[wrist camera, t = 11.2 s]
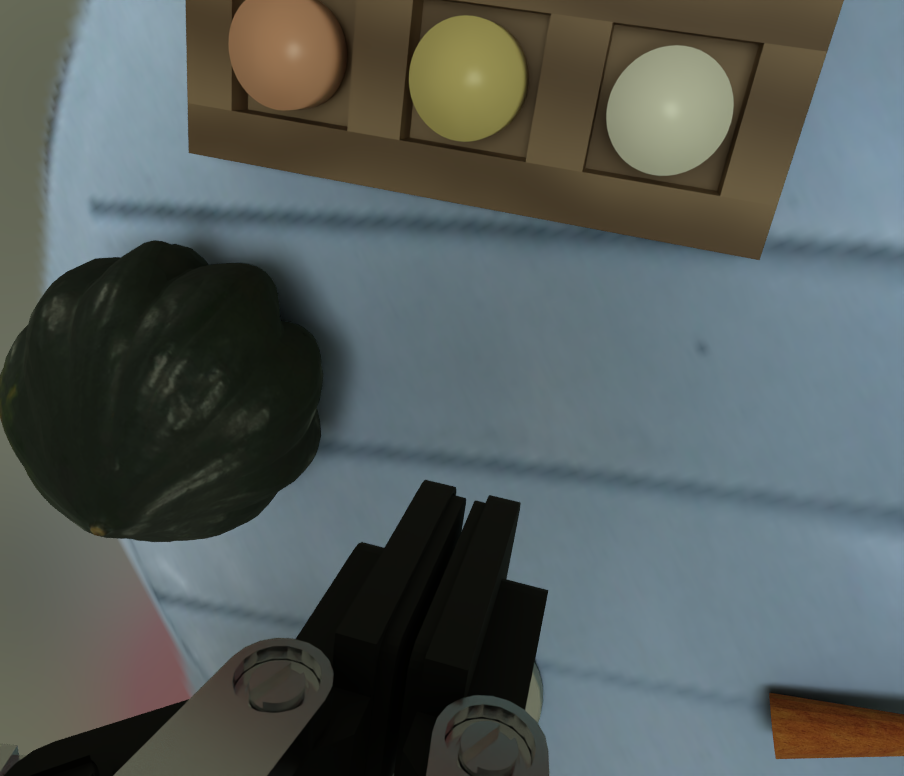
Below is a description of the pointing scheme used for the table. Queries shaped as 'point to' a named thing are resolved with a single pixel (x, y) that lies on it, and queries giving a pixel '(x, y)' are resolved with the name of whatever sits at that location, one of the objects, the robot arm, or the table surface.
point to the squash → (161, 395)
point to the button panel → (537, 112)
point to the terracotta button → (287, 52)
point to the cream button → (669, 110)
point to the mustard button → (468, 78)
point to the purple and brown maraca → (833, 729)
